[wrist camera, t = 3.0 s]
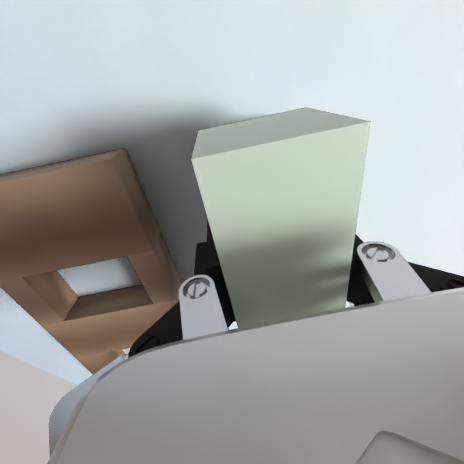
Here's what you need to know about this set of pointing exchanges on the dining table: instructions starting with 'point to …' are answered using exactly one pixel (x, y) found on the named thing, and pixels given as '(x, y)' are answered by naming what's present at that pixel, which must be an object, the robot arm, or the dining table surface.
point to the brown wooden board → (84, 252)
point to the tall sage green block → (283, 209)
